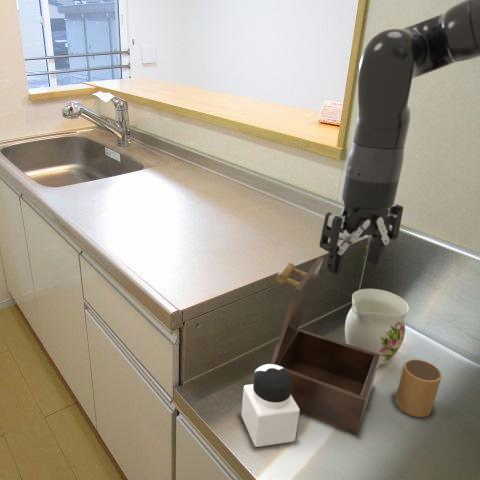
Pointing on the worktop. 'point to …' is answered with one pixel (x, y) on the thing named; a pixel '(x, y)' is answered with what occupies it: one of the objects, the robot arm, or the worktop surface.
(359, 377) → the chest
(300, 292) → the lid
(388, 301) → the pitcher
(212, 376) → the worktop surface
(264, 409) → the medicine bottle
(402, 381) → the tan cylinder
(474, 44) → the robot arm
